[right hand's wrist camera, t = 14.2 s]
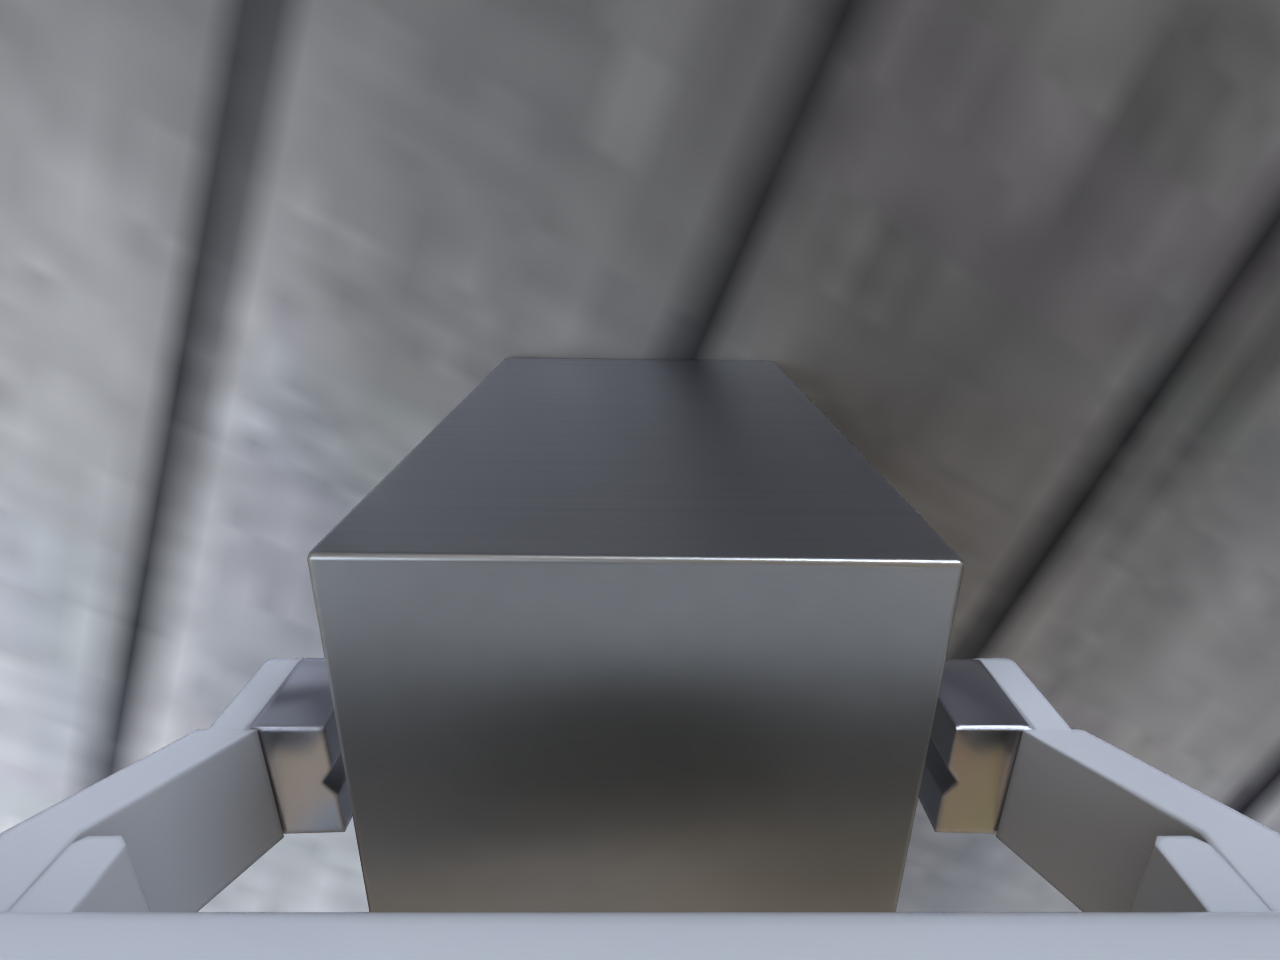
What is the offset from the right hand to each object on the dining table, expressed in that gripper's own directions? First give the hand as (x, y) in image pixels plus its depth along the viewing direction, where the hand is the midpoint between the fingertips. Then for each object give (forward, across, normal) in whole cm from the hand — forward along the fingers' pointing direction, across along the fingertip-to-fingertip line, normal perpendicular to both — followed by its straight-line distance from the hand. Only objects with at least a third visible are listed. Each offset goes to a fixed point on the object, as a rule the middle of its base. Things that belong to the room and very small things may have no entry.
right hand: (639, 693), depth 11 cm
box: (+7, 0, +7) cm, 10 cm away
